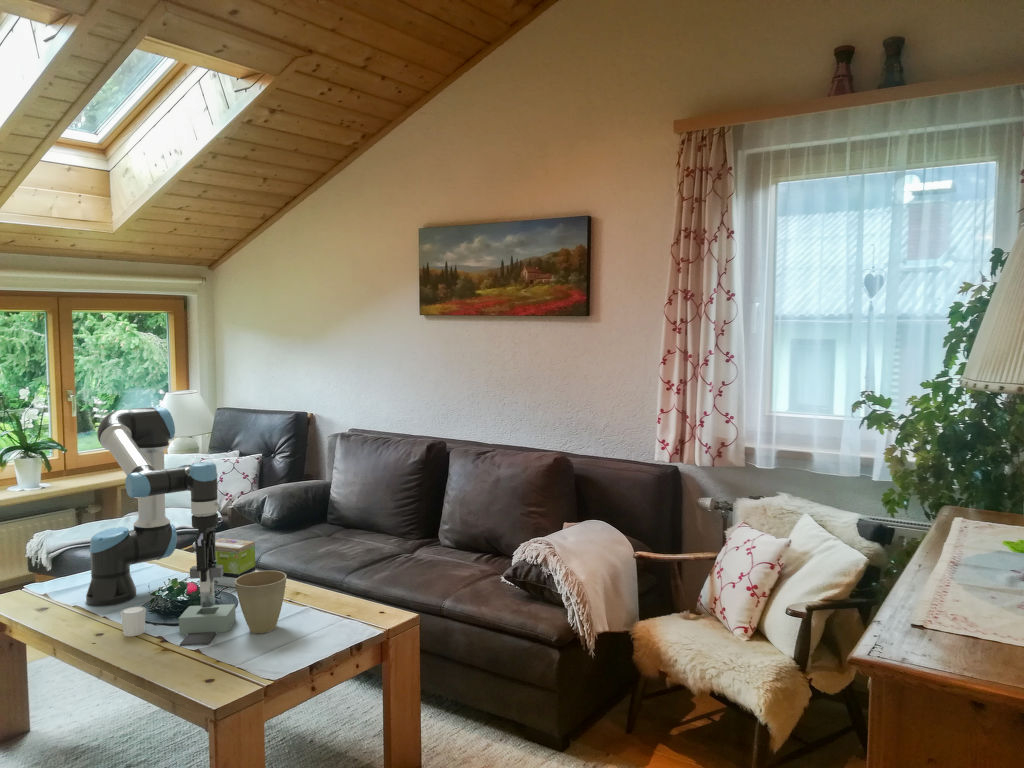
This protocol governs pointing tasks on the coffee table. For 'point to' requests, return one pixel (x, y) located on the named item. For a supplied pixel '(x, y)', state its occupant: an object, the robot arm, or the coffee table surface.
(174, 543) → the robot arm
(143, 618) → the white cylinder
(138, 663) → the coffee table surface
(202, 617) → the block
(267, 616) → the plant pot
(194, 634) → the rubber mat
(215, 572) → the chuck key
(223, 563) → the tea box
